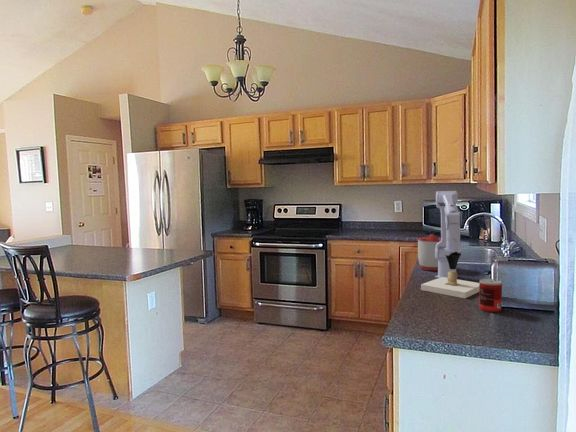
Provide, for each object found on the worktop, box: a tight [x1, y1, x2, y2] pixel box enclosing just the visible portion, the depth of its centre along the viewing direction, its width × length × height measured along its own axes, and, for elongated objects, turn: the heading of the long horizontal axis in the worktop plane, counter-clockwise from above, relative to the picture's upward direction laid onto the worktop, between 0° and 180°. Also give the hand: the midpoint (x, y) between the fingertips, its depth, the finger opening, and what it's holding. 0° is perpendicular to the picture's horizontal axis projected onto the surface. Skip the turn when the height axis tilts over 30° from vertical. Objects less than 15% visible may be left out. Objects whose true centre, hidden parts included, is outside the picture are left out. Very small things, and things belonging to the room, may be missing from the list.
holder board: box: [420, 277, 480, 299], centre depth 182 cm, size 20×20×2 cm
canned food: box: [478, 278, 503, 313], centre depth 153 cm, size 8×8×11 cm
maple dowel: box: [447, 271, 458, 286], centre depth 182 cm, size 4×4×8 cm
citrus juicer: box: [417, 233, 446, 272], centre depth 226 cm, size 16×17×20 cm
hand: (452, 269), depth 182 cm, fingers closed
